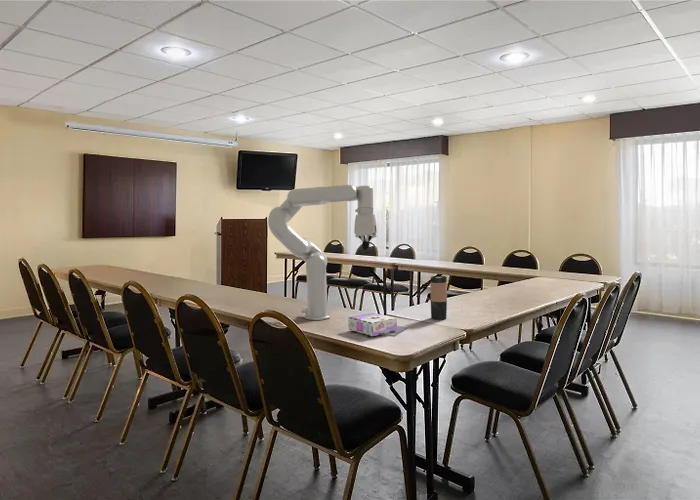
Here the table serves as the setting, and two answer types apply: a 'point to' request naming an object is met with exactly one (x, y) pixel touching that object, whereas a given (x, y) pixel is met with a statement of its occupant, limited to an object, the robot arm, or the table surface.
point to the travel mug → (438, 297)
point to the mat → (399, 330)
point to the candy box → (372, 324)
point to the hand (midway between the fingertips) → (366, 249)
